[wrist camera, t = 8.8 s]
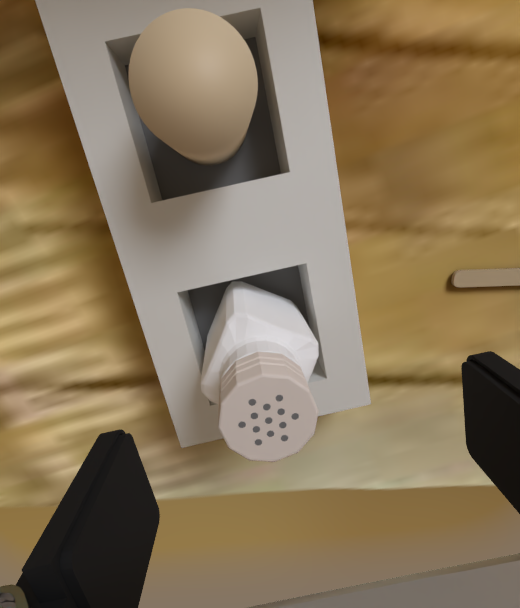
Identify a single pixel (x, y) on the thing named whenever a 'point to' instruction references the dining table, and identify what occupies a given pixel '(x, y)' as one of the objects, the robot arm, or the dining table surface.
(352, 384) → the block
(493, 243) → the dining table surface
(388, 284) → the dining table surface
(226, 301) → the pepper shaker
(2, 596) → the robot arm
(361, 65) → the dining table surface
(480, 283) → the popsicle
